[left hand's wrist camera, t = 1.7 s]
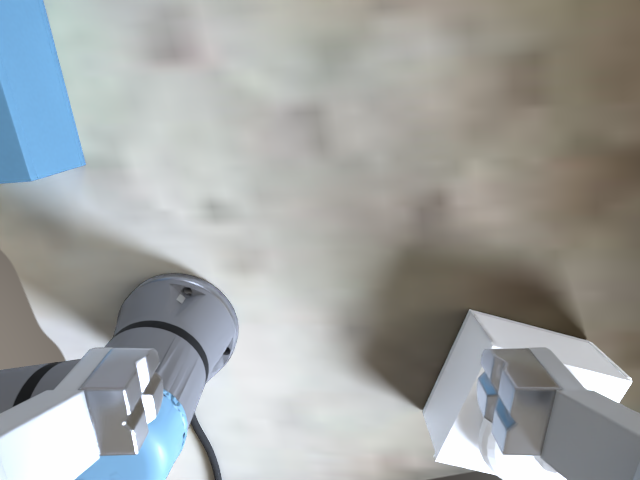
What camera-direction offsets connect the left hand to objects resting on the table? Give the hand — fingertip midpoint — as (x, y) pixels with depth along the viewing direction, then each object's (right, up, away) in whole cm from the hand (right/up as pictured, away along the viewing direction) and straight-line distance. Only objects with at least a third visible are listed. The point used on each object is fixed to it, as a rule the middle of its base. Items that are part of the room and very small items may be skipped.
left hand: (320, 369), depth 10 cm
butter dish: (+25, -16, +48) cm, 56 cm away
